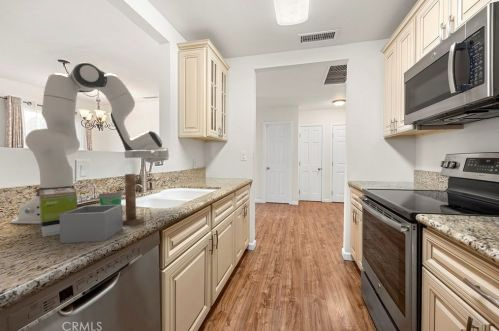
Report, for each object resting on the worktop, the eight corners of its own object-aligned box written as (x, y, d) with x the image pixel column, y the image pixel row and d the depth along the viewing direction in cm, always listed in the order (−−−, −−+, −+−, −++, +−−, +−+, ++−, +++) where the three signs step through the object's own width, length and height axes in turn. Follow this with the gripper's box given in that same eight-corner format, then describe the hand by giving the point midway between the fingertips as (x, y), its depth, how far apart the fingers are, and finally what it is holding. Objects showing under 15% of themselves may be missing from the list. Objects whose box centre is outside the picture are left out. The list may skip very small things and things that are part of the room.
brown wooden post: (117, 225, 88) (116, 174, 87) (123, 222, 92) (122, 173, 92) (139, 224, 89) (138, 174, 88) (143, 221, 94) (142, 173, 93)
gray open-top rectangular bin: (60, 243, 69) (59, 214, 69) (85, 229, 82) (84, 205, 82) (105, 240, 71) (104, 212, 71) (122, 228, 84) (122, 204, 84)
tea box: (40, 228, 85) (38, 189, 85) (73, 222, 92) (72, 187, 92) (41, 237, 75) (39, 193, 74) (78, 230, 82) (77, 190, 81)
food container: (109, 215, 104) (109, 194, 103) (98, 214, 105) (98, 193, 105) (129, 209, 116) (128, 190, 115) (118, 209, 117) (118, 190, 117)
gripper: (130, 148, 117) (118, 147, 103) (170, 148, 119) (164, 146, 106) (130, 160, 117) (118, 160, 103) (171, 159, 119) (164, 160, 106)
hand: (142, 153), depth 104 cm, fingers open, 8 cm apart
